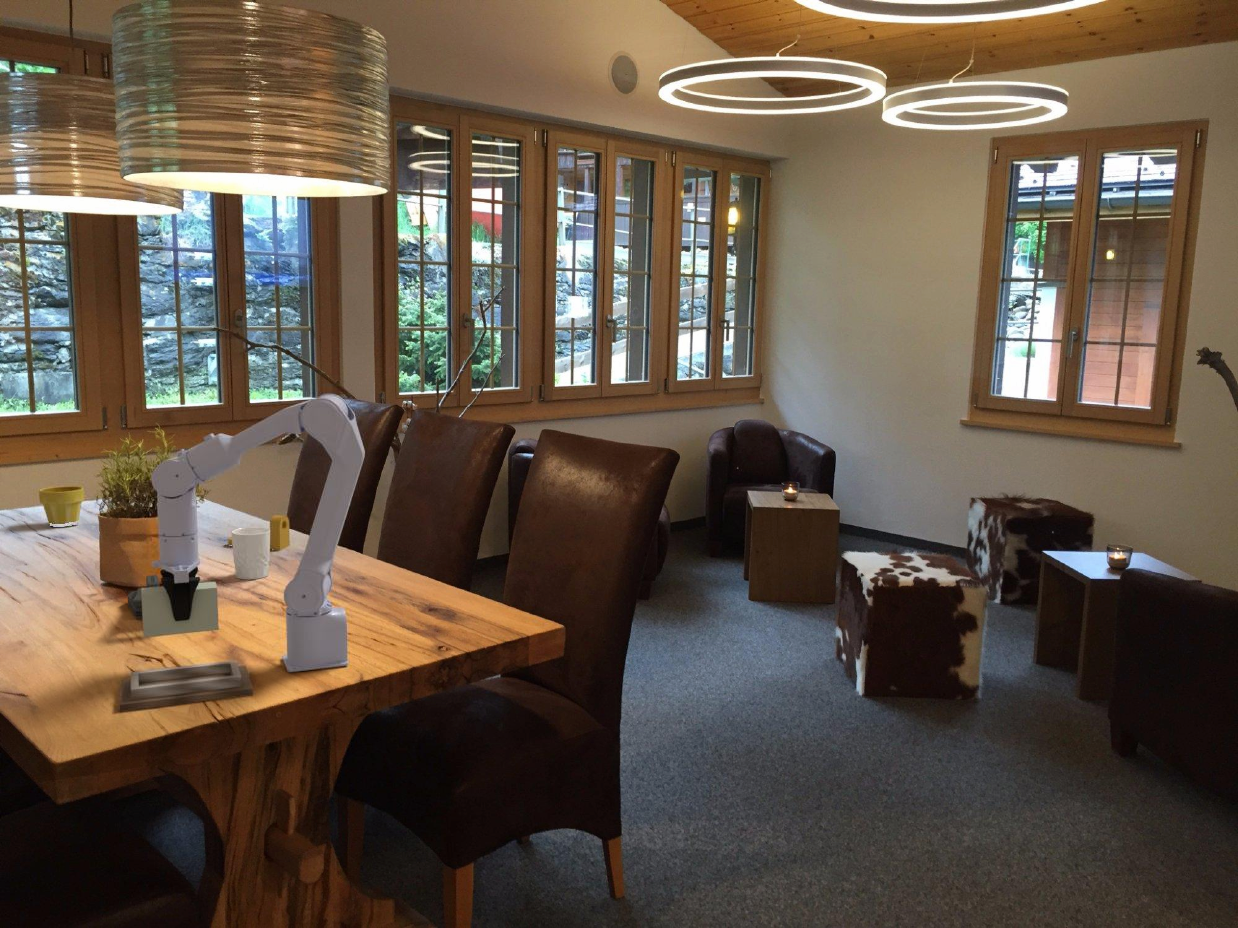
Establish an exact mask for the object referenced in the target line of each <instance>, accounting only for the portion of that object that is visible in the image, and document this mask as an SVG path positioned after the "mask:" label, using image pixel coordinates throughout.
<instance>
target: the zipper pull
mask: <svg viewBox="0 0 1238 928" xmlns="http://www.w3.org/2000/svg"><path fill="white" fill-rule="evenodd" d="M145 580H146V581H145V582H146V583H145V585H146V587H145V588H148V587H160V581H159V575H158V574H152V575H151V574H150V575H146V577H145ZM141 588H142V587H139V588H137V589H136V590H134V591H132V592H130V593H129V594H127V606H128V608H129V610H130V611H131V614H132V615H133V617H134V619H135V620H142V621H143V616H142V596H141Z"/></svg>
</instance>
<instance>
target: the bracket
mask: <svg viewBox="0 0 1238 928" xmlns="http://www.w3.org/2000/svg"><path fill="white" fill-rule="evenodd" d="M269 529H270V549H273V550H272V551H274V550H281V551H283V550H282V549H284V548H286V547H288V546H290V547H291V543H290V520H289V517H288V516H287V515H272V517H271V519H270V521H269ZM228 545H232V536H230V537H228V538H227V546H228ZM286 549H287V548H286ZM284 550H285V549H284Z"/></svg>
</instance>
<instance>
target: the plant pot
mask: <svg viewBox="0 0 1238 928" xmlns="http://www.w3.org/2000/svg"><path fill="white" fill-rule="evenodd" d="M38 497H39V503H40V504H42V506H43V509H44V512H45V515H46V519H47V522H48V524H49V523H52V524H65V523H69V522H76V521H78V520H80V514H81V508H82V502H83V501H84V500H85V490H84V487H83V486H80V485H79V486H78V485H61V486H60V485H59V486H50V487H44V488H41V489H39V490H38Z"/></svg>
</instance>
